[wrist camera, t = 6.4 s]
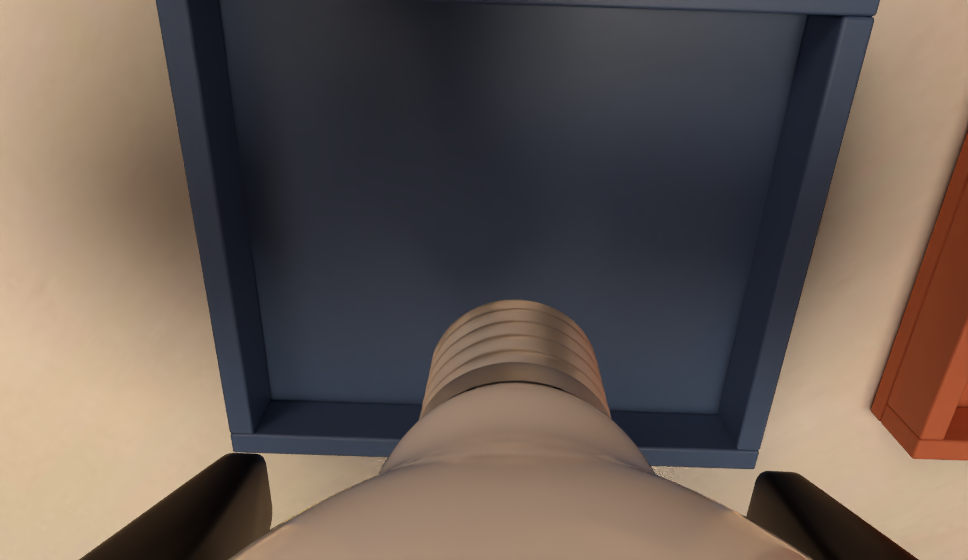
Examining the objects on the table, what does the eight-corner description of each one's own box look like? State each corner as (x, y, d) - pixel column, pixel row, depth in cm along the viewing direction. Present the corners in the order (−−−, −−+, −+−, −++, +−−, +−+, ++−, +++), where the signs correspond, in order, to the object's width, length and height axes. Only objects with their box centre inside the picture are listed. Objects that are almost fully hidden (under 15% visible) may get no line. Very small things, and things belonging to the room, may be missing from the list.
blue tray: (728, 421, 18) (755, 470, 16) (258, 405, 18) (232, 453, 16) (832, -20, 13) (886, -20, 11) (194, -41, 13) (146, -44, 11)
